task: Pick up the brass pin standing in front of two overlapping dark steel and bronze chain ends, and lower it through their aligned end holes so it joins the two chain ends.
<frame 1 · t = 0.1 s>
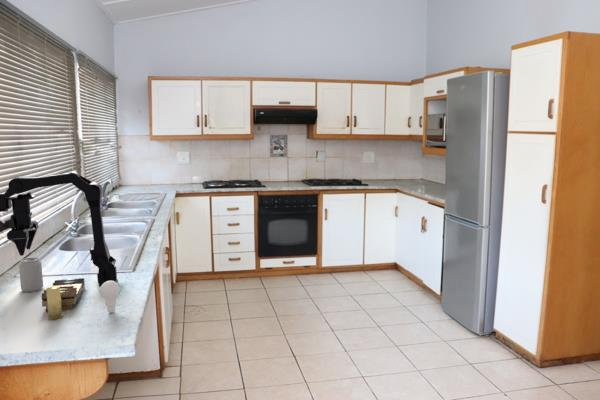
hand: (25, 252, 186), 15 cm above the worktop, tool pointing down, fingers open, 9 cm apart
chain end 1: (65, 299, 178), on the worktop
lightbulb: (111, 313, 166), on the worktop
can: (32, 290, 188), on the worktop
brass pin: (55, 317, 161), on the worktop
chain end 2: (65, 299, 178), on the worktop
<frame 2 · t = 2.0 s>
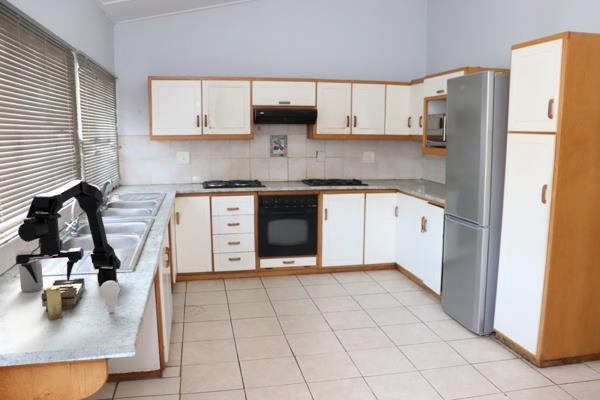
hand: (52, 281, 160), 12 cm above the worktop, tool pointing down, fingers open, 9 cm apart
nothing on the worktop moved.
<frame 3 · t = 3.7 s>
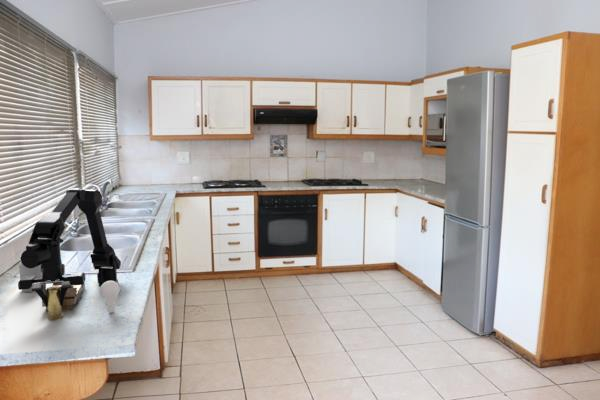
hand: (54, 306, 161), 4 cm above the worktop, tool pointing down, fingers closed on brass pin, 4 cm apart
brass pin: (55, 317, 161), on the worktop, touching gripper
everything else where it was.
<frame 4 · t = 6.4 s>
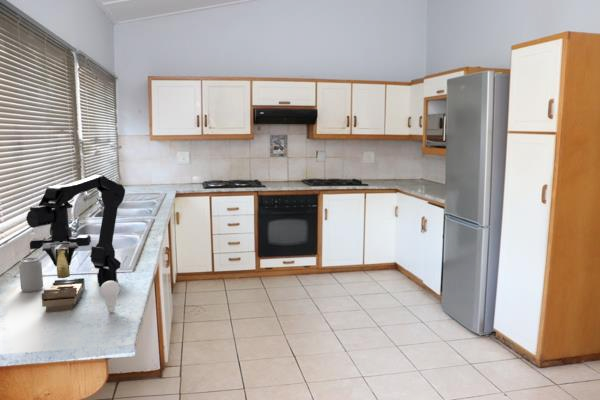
hand: (62, 265, 176), 13 cm above the worktop, tool pointing down, fingers closed on brass pin, 4 cm apart
brass pin: (63, 276, 176), point 9 cm above the worktop, touching gripper
everything else where it was.
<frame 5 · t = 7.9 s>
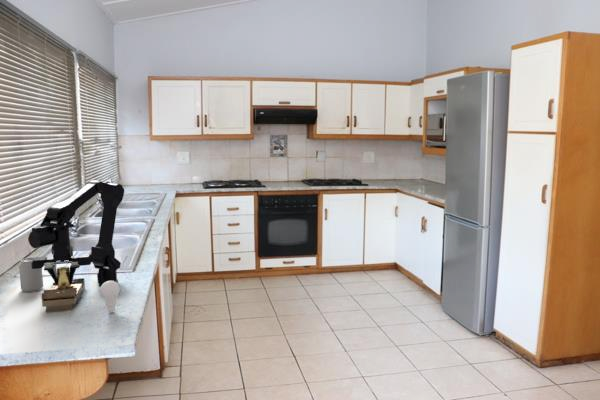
hand: (64, 284, 177), 6 cm above the worktop, tool pointing down, fingers closed on brass pin, 4 cm apart
brass pin: (65, 295, 177), point 2 cm above the worktop, touching gripper
everything else where it was.
when the fingers open (5 cm above the worktop, at t = 9.0 s): brass pin drops 2 cm, on the worktop.
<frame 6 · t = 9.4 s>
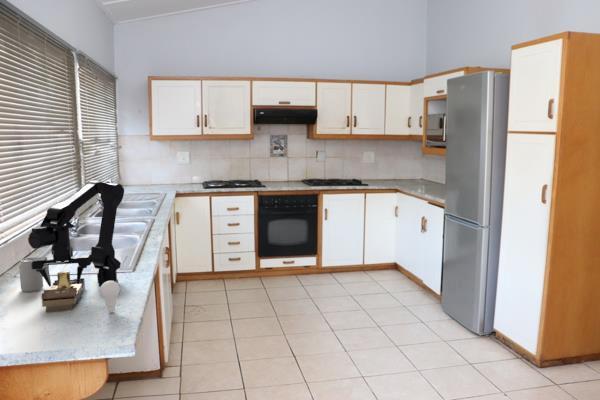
hand: (64, 285, 177), 5 cm above the worktop, tool pointing down, fingers open, 9 cm apart
brass pin: (65, 299, 178), on the worktop
everything else where it was.
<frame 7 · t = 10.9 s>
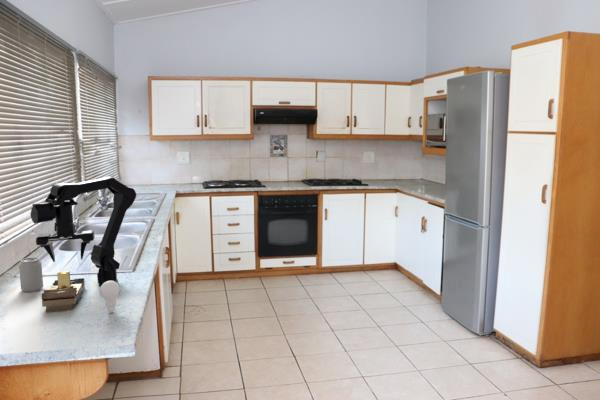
hand: (68, 260, 182), 13 cm above the worktop, tool pointing down, fingers open, 9 cm apart
nothing on the worktop moved.
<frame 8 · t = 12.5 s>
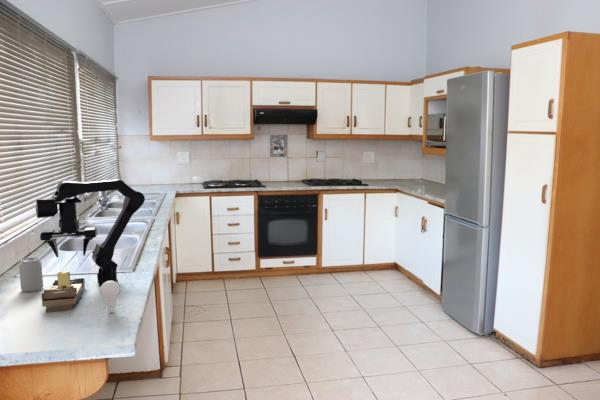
hand: (71, 256, 186), 13 cm above the worktop, tool pointing down, fingers open, 9 cm apart
nothing on the worktop moved.
at the end: brass pin 0.1 cm off-centre on the chain end 1, point 0.0 cm above the chain end 1's base; brass pin tilted 0°; the gripper is holding nothing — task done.
